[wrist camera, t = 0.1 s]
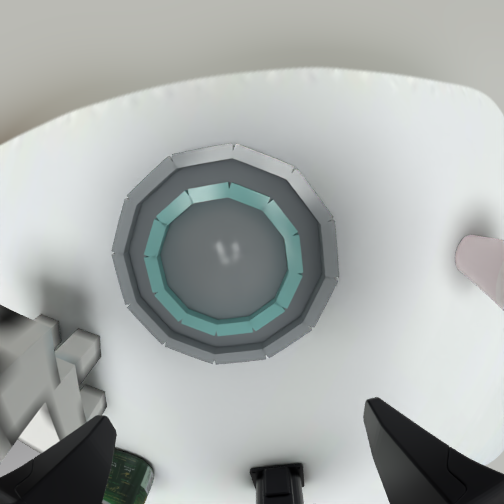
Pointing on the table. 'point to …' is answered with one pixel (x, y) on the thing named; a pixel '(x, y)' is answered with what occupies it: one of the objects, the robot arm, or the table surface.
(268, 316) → the tray
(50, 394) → the toy llama
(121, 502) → the coffee jar
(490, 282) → the smoothie
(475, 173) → the table surface
